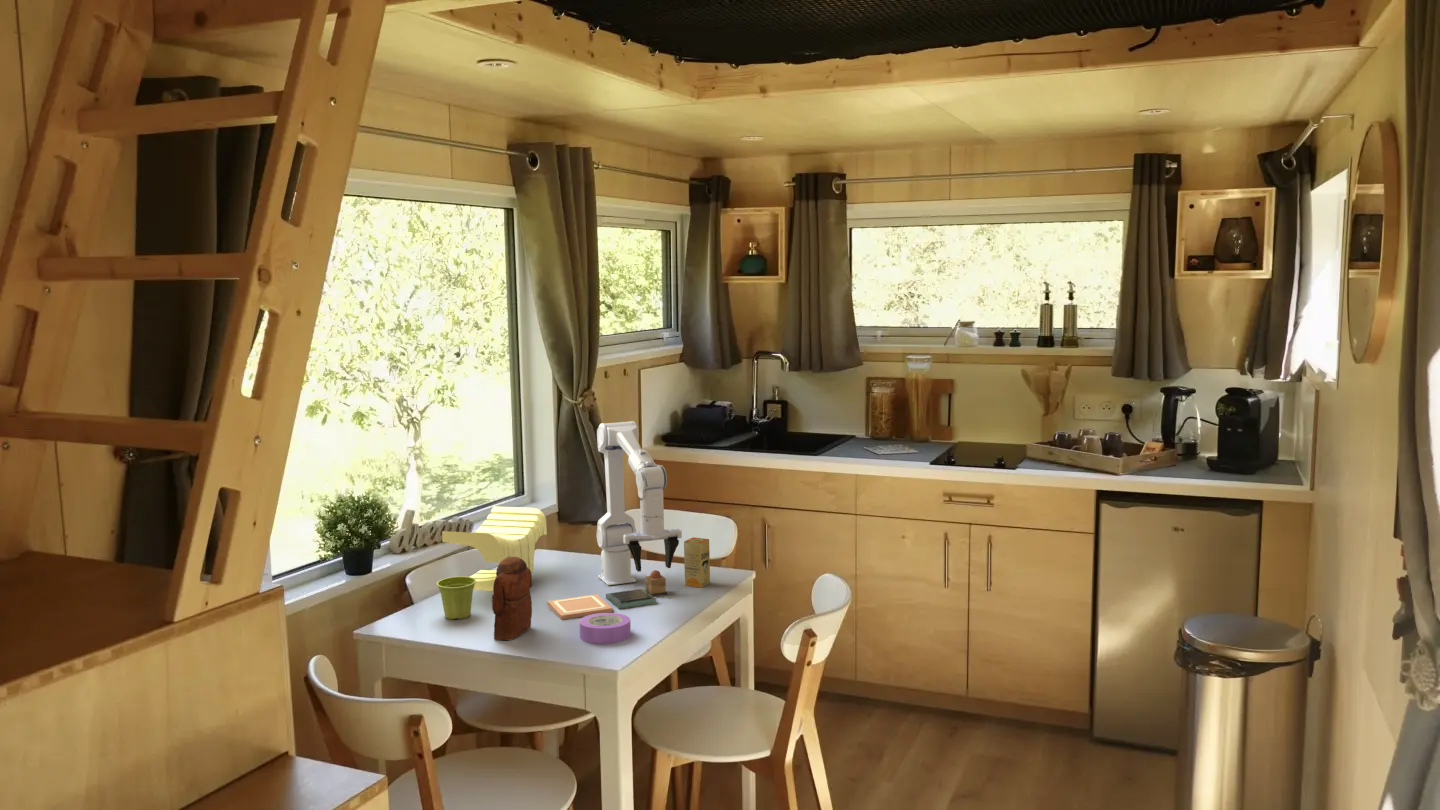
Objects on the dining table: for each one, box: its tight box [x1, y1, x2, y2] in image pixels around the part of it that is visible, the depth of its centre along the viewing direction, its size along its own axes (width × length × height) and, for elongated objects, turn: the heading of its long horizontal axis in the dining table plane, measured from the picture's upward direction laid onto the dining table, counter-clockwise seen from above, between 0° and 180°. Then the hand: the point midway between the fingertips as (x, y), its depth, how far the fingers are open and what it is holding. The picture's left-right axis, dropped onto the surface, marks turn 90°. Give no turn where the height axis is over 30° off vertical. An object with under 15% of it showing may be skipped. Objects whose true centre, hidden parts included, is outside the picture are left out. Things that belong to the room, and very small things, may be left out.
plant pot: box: [436, 575, 476, 620], centre depth 262 cm, size 9×9×9 cm
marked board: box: [546, 593, 614, 621], centre depth 267 cm, size 13×13×1 cm
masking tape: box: [579, 612, 632, 645], centre depth 247 cm, size 12×12×4 cm
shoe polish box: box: [683, 537, 711, 589], centre depth 286 cm, size 5×5×12 cm
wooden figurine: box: [491, 557, 533, 641], centre depth 248 cm, size 12×6×18 cm, turn 164°
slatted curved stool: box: [441, 506, 548, 592], centre depth 289 cm, size 30×16×18 cm, turn 166°
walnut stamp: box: [644, 569, 669, 598], centre depth 278 cm, size 5×5×6 cm
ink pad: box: [605, 588, 657, 610], centre depth 272 cm, size 10×10×2 cm
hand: (653, 568), depth 265 cm, fingers open, 7 cm apart
